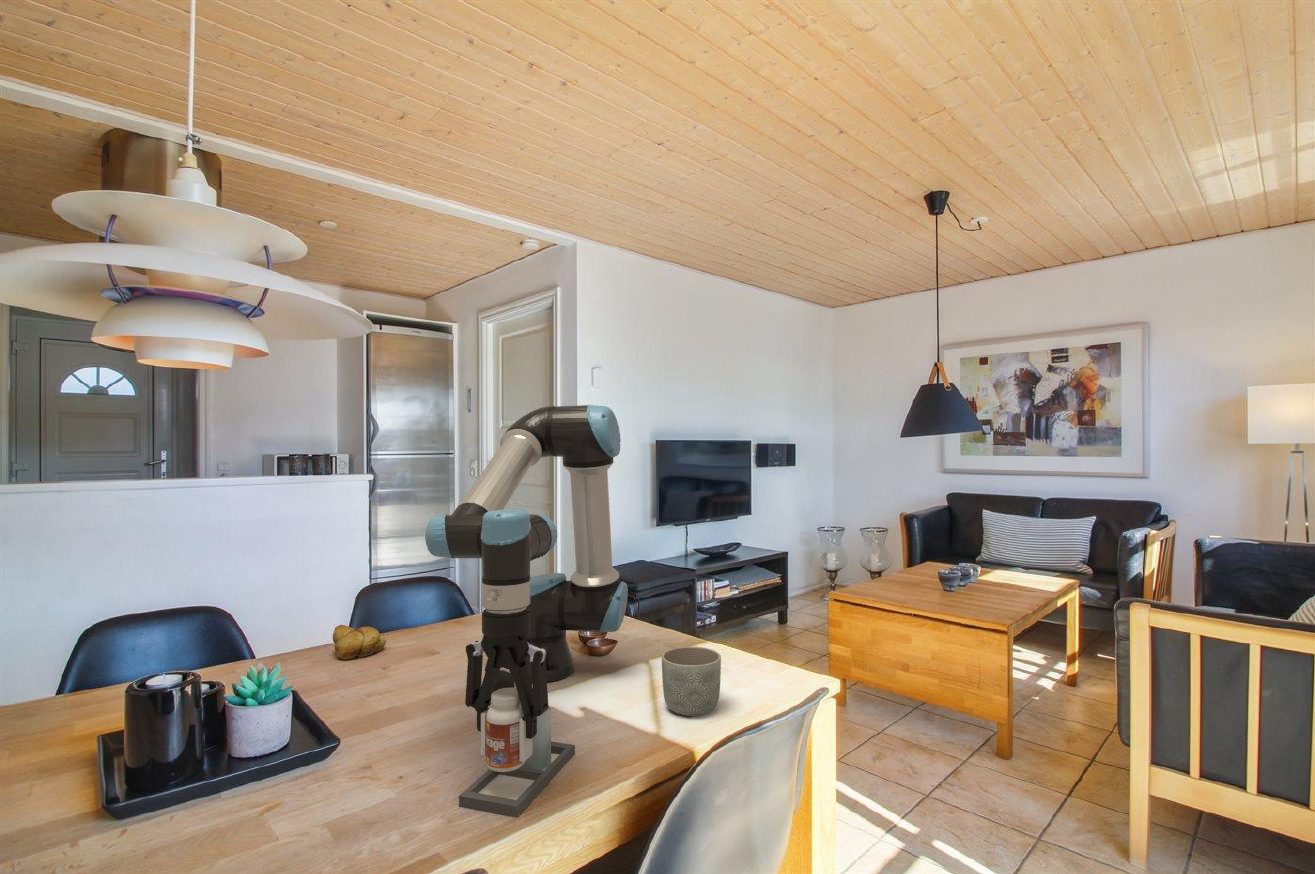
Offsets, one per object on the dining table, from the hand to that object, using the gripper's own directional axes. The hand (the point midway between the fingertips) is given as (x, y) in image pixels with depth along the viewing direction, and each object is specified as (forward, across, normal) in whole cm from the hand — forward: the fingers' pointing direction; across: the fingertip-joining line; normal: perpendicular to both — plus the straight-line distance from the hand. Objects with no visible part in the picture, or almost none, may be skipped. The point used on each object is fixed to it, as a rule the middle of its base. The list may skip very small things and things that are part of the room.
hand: (506, 754), depth 100 cm
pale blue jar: (+6, 0, +9) cm, 11 cm away
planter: (+6, +20, +40) cm, 45 cm away
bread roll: (+6, -73, +48) cm, 87 cm away
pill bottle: (+2, 0, 0) cm, 2 cm away
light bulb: (+6, -15, +23) cm, 28 cm away
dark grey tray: (+6, 0, +5) cm, 8 cm away
